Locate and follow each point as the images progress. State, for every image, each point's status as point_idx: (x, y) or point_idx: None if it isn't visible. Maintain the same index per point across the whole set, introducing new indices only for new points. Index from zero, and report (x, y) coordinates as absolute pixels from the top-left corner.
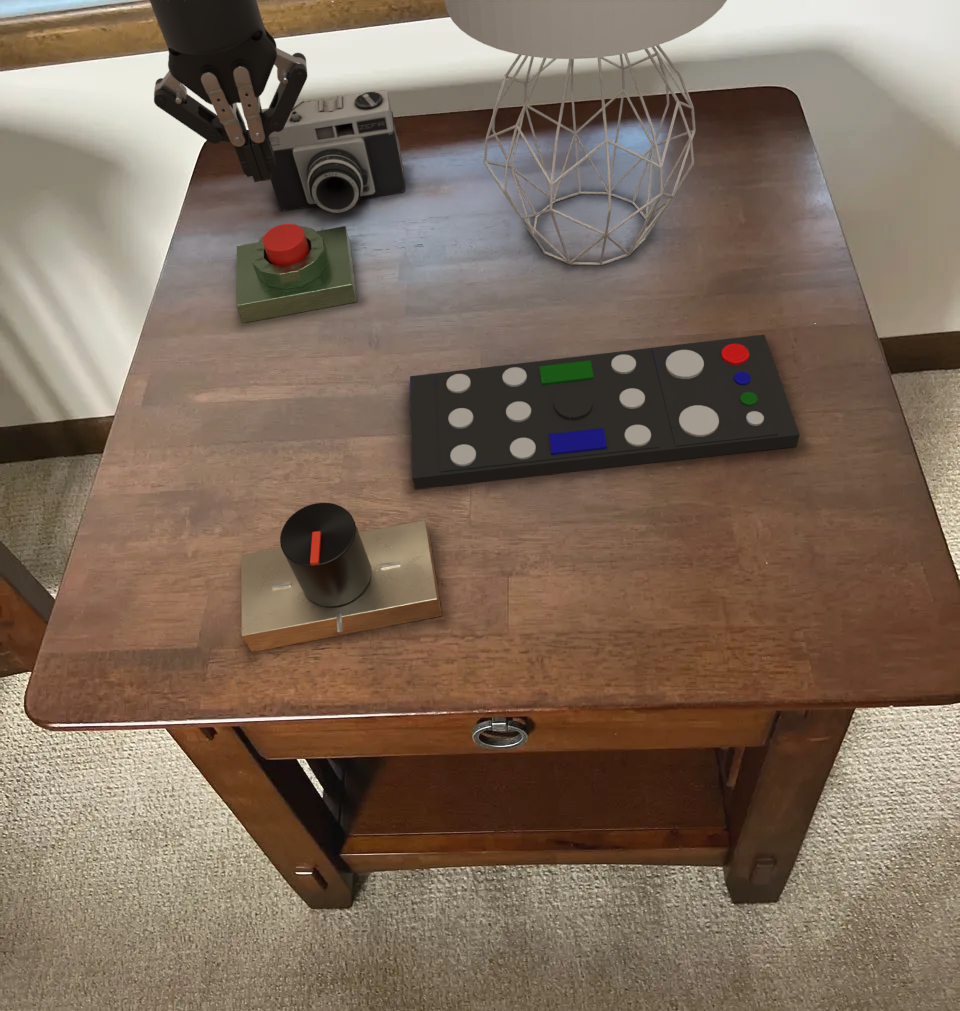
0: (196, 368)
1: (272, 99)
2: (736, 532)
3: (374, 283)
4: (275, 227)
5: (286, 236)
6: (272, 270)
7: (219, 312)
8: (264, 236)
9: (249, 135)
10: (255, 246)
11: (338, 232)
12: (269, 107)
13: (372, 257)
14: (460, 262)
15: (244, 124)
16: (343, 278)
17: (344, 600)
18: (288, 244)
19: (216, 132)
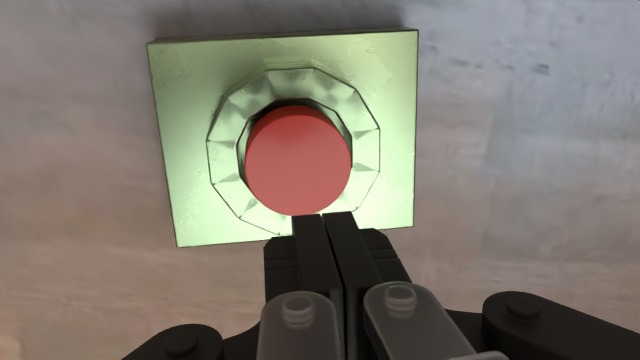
0: (108, 321)
1: (554, 356)
2: None
3: (438, 163)
4: (276, 123)
5: (306, 166)
6: (263, 221)
7: (125, 188)
8: (249, 155)
9: (340, 322)
10: (213, 128)
11: (401, 53)
12: (508, 347)
13: (445, 84)
14: (601, 137)
15: (339, 337)
16: (398, 207)
17: None
18: (311, 196)
19: None
